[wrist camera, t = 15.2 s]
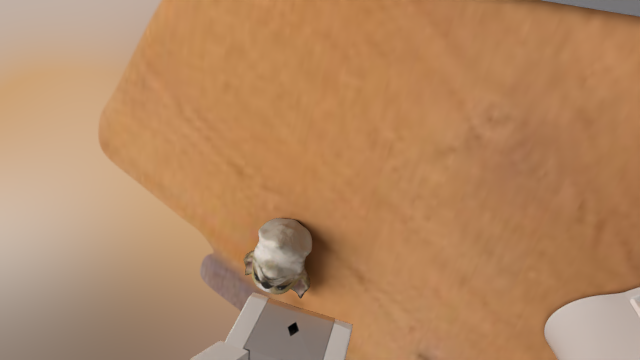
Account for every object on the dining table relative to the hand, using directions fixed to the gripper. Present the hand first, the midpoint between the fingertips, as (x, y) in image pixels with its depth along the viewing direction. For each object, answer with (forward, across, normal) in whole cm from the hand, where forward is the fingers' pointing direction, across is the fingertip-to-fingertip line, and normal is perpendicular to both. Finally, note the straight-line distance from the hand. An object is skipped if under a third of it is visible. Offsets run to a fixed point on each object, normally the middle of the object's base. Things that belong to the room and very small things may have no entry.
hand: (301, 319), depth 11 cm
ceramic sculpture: (+31, +10, +30) cm, 44 cm away
